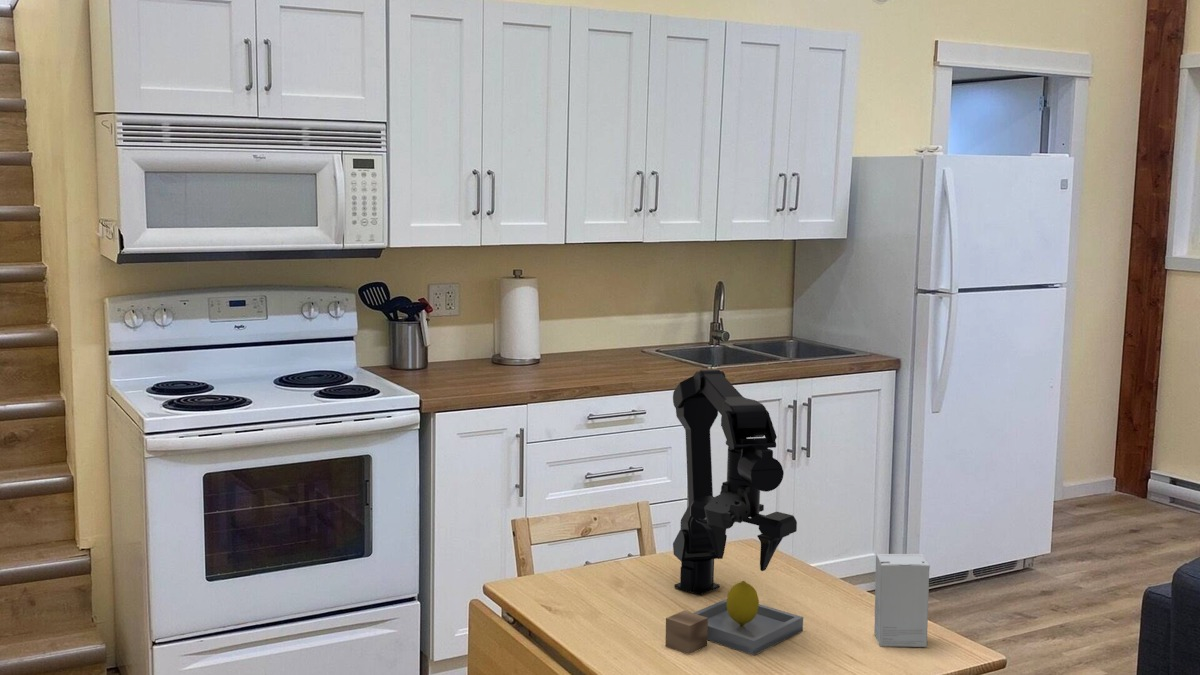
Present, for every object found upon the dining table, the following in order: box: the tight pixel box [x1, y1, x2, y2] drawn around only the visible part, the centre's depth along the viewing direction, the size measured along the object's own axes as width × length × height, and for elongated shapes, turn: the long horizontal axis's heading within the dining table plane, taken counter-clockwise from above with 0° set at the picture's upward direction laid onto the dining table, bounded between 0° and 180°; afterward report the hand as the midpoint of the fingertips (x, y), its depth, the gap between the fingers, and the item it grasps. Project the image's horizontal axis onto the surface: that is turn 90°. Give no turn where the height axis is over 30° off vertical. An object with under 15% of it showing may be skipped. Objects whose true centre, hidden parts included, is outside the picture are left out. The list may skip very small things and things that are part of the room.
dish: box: [693, 598, 804, 656], centre depth 206 cm, size 15×15×2 cm
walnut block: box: [665, 610, 708, 655], centre depth 199 cm, size 5×5×5 cm
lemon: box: [726, 580, 760, 626], centre depth 206 cm, size 6×6×8 cm
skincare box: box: [873, 553, 931, 648], centre depth 202 cm, size 8×6×15 cm
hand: (740, 564), depth 205 cm, fingers open, 9 cm apart
